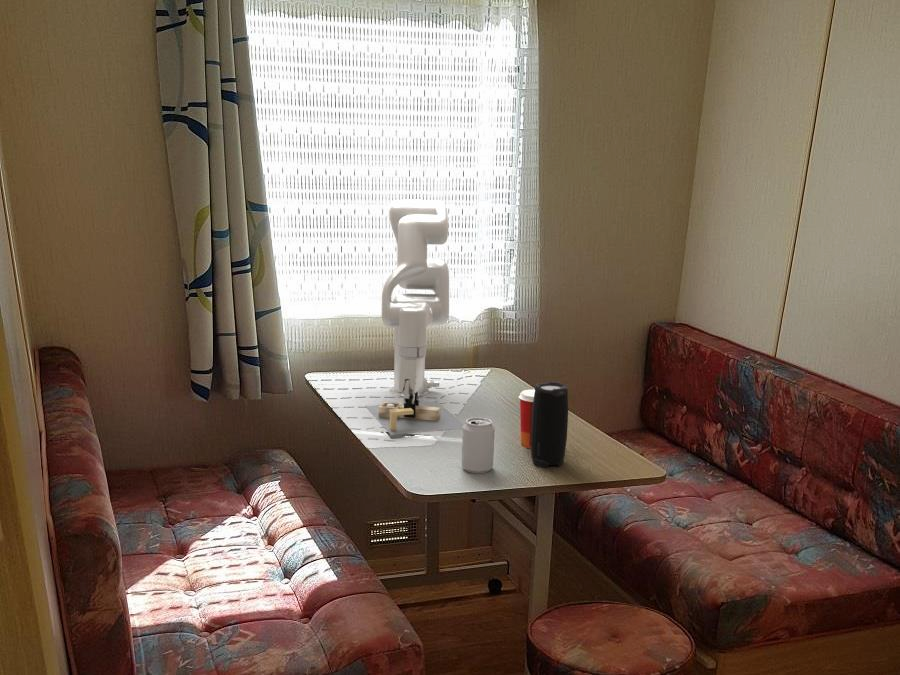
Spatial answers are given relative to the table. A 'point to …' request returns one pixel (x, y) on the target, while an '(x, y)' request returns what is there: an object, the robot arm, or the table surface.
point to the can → (478, 445)
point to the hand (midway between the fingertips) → (411, 414)
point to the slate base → (415, 420)
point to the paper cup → (526, 416)
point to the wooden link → (420, 411)
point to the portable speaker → (549, 424)
